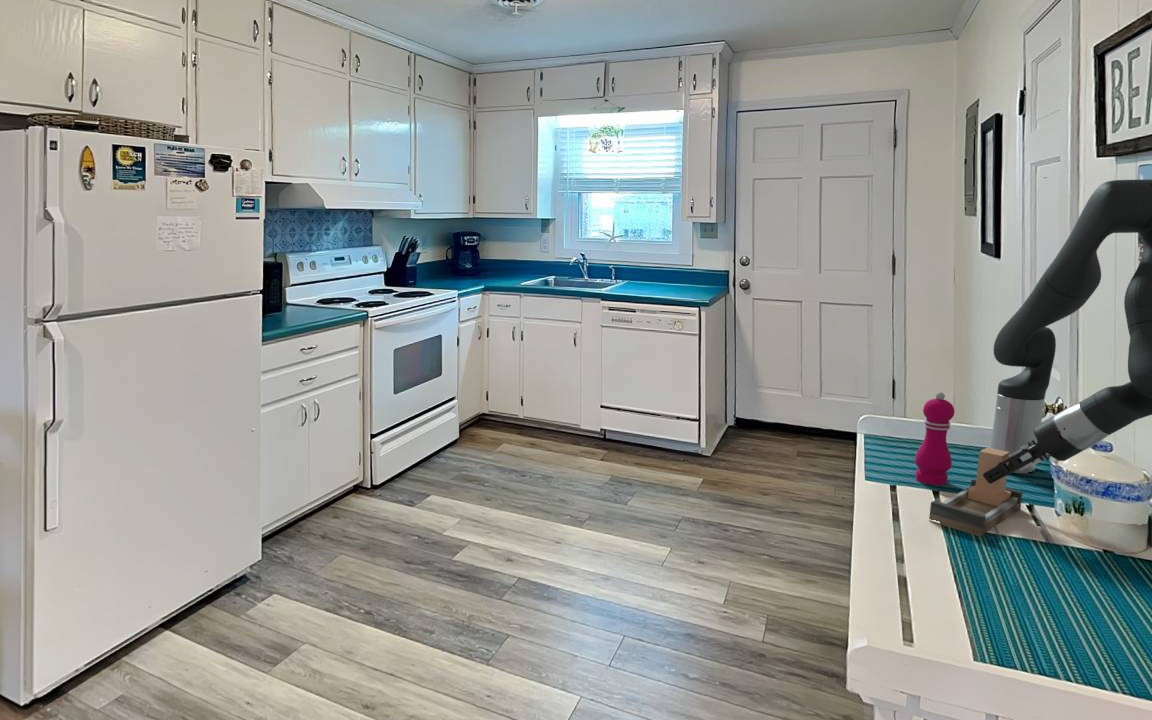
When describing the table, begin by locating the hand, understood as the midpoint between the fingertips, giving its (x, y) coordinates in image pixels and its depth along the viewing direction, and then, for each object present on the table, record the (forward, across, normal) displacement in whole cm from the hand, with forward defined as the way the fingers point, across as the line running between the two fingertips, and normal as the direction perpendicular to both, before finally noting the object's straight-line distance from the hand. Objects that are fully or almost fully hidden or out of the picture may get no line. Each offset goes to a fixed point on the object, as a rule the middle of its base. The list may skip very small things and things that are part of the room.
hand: (994, 474), depth 137 cm
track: (+5, +6, +5) cm, 9 cm away
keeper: (+4, 0, +3) cm, 6 cm away
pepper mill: (+15, -7, -5) cm, 18 cm away
